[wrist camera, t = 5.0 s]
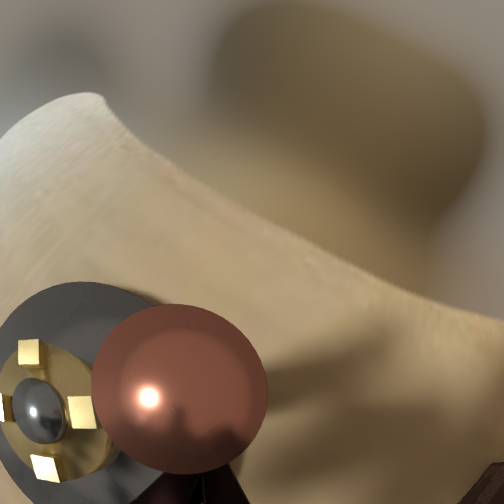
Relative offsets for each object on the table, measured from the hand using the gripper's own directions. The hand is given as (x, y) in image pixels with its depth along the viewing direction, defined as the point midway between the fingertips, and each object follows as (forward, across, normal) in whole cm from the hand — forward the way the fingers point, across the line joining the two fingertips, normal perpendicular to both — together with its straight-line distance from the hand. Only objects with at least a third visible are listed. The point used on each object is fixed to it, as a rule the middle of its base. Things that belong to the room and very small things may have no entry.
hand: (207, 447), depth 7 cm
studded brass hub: (+4, -5, -4) cm, 7 cm away
